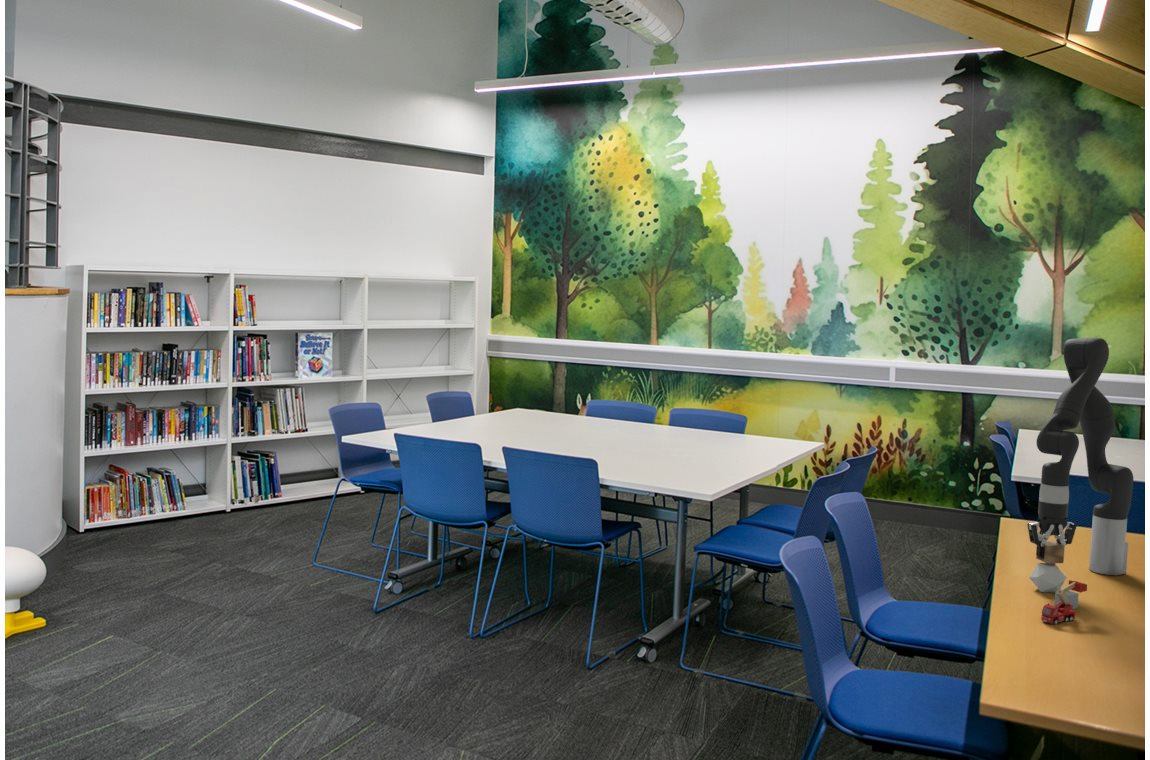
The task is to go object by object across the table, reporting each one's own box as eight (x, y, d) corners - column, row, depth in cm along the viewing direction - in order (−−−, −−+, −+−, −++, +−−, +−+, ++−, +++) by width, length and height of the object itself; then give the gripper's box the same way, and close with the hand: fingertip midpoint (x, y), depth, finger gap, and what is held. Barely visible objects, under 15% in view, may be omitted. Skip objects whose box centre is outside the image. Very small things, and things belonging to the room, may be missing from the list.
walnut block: (1052, 558, 272) (1053, 541, 271) (1063, 563, 267) (1064, 545, 266) (1036, 558, 271) (1037, 541, 270) (1047, 563, 266) (1048, 546, 266)
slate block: (1064, 603, 258) (1065, 589, 258) (1077, 608, 254) (1078, 593, 254) (1054, 605, 256) (1055, 591, 256) (1068, 610, 252) (1069, 595, 252)
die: (1062, 599, 263) (1076, 570, 266) (1034, 582, 264) (1048, 553, 267) (1047, 601, 271) (1061, 572, 273) (1020, 584, 272) (1034, 556, 275)
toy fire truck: (1039, 621, 243) (1041, 585, 242) (1073, 614, 249) (1076, 578, 248) (1051, 625, 240) (1053, 588, 239) (1085, 618, 246) (1088, 582, 245)
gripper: (1068, 497, 272) (1064, 554, 273) (1022, 497, 270) (1018, 555, 271) (1085, 502, 264) (1081, 561, 266) (1038, 503, 263) (1034, 562, 264)
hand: (1049, 558), depth 269 cm, fingers closed on walnut block, 5 cm apart
